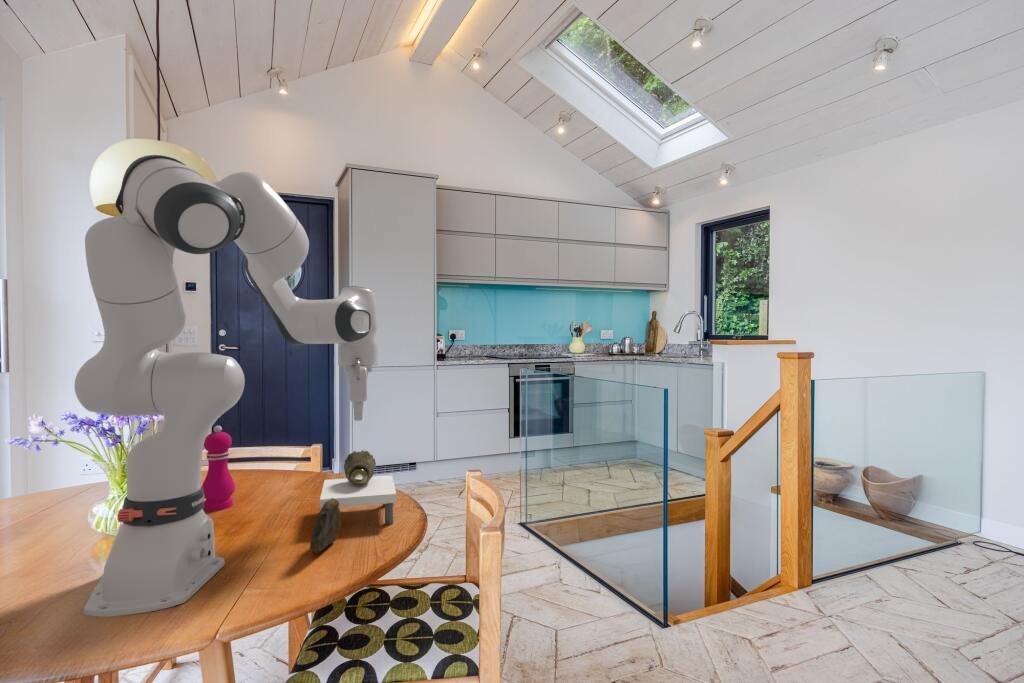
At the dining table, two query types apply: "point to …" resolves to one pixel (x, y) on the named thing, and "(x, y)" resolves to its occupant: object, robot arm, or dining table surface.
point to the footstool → (362, 493)
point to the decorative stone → (326, 526)
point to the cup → (359, 467)
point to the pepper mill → (218, 472)
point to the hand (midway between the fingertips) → (358, 417)
